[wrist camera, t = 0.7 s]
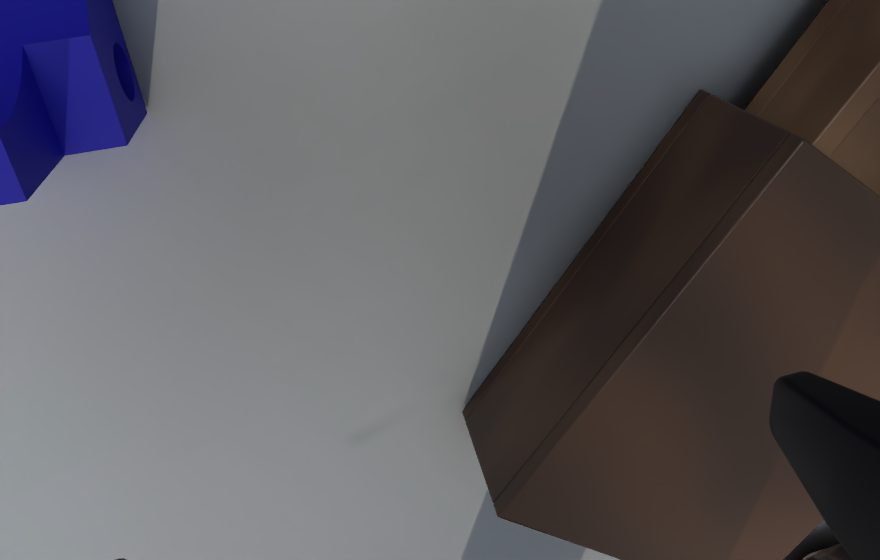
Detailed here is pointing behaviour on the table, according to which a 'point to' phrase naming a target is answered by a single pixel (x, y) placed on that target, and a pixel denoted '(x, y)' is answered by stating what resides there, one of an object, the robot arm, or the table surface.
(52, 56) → the blue curved bracket
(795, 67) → the drawer
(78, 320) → the table surface
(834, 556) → the black sponge
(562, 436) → the cabinet
